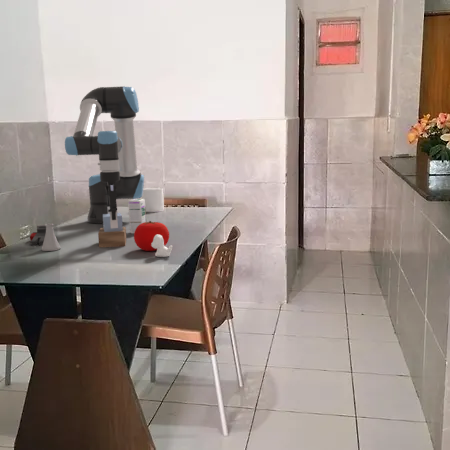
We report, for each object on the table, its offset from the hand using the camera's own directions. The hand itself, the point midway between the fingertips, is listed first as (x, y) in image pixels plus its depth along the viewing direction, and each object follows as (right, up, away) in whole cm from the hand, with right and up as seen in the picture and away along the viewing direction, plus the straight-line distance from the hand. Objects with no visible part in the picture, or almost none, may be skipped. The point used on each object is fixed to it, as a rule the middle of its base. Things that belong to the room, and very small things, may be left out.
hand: (113, 225), depth 221 cm
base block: (0, -8, +1) cm, 8 cm away
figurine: (+22, -11, -21) cm, 33 cm away
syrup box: (+6, -3, +23) cm, 25 cm away
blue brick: (0, -2, 0) cm, 2 cm away
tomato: (+17, -9, -10) cm, 22 cm away
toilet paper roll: (+5, +8, +83) cm, 84 cm away
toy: (-31, -7, +10) cm, 33 cm away
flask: (-23, -10, -6) cm, 25 cm away
